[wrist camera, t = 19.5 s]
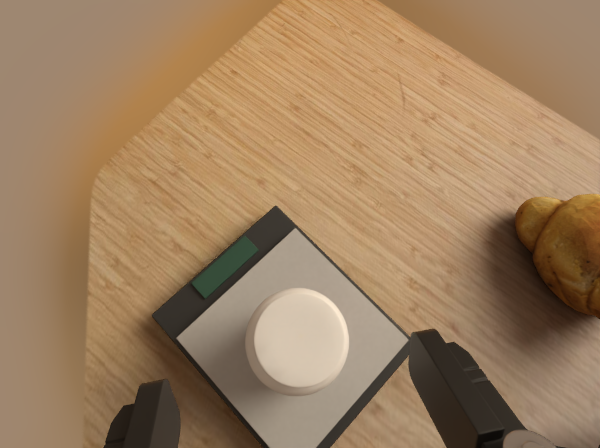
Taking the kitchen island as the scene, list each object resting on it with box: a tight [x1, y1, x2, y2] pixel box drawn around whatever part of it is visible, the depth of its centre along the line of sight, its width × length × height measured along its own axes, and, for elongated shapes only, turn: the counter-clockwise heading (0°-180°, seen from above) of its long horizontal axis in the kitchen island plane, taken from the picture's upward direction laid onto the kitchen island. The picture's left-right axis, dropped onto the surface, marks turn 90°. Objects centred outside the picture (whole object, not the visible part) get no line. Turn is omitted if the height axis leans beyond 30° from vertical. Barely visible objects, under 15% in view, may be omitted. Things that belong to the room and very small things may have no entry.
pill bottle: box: [245, 288, 349, 396], centre depth 23 cm, size 6×6×11 cm
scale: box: [152, 206, 411, 448], centre depth 30 cm, size 14×17×3 cm
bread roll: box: [515, 194, 600, 319], centre depth 31 cm, size 13×10×8 cm
